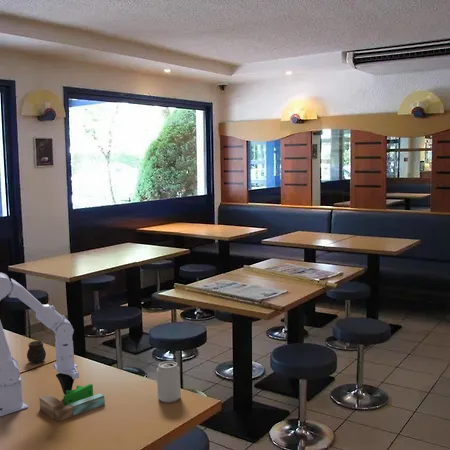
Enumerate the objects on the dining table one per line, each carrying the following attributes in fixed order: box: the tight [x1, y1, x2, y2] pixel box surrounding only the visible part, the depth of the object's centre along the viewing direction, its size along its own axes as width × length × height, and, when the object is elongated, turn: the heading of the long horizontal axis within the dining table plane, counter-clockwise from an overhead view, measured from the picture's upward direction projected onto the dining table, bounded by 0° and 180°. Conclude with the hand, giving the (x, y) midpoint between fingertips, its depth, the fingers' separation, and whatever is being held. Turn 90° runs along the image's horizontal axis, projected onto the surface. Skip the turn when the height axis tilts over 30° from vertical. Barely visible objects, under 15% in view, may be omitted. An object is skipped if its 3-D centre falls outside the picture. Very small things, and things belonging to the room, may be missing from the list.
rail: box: [54, 393, 106, 422], centre depth 173 cm, size 16×3×3 cm, turn 132°
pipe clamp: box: [63, 383, 94, 406], centre depth 181 cm, size 11×4×5 cm, turn 145°
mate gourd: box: [26, 339, 47, 365], centre depth 219 cm, size 7×8×10 cm
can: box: [156, 360, 182, 404], centre depth 180 cm, size 8×8×12 cm
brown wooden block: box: [39, 393, 64, 420], centre depth 173 cm, size 4×10×4 cm, turn 42°
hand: (67, 393), depth 185 cm, fingers closed
